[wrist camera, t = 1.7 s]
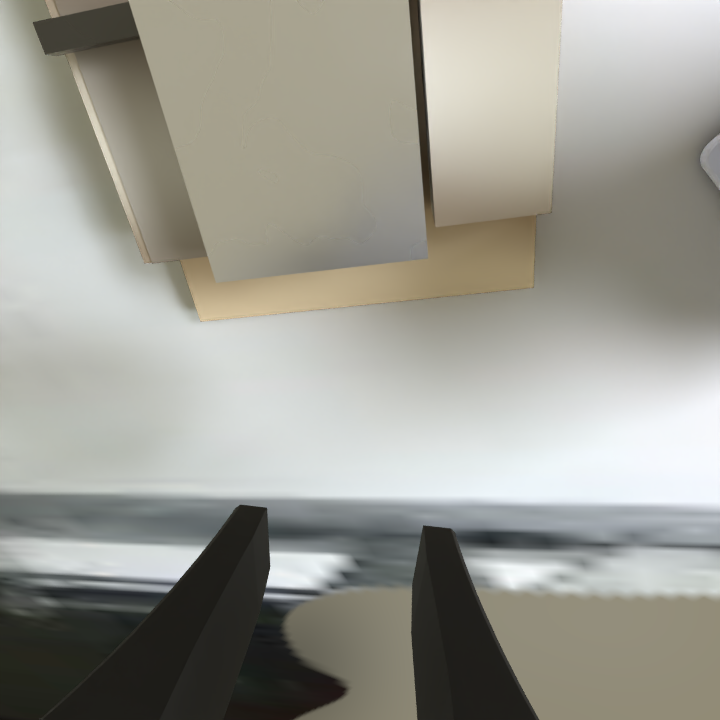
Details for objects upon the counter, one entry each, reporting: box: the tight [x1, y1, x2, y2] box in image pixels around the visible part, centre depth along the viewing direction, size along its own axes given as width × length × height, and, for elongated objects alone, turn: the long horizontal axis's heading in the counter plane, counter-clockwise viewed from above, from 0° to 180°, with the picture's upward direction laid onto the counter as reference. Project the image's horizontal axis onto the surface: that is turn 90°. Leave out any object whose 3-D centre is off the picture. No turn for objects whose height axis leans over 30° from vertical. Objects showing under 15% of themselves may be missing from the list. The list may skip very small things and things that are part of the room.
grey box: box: [33, 0, 428, 283], centre depth 12 cm, size 6×8×5 cm
